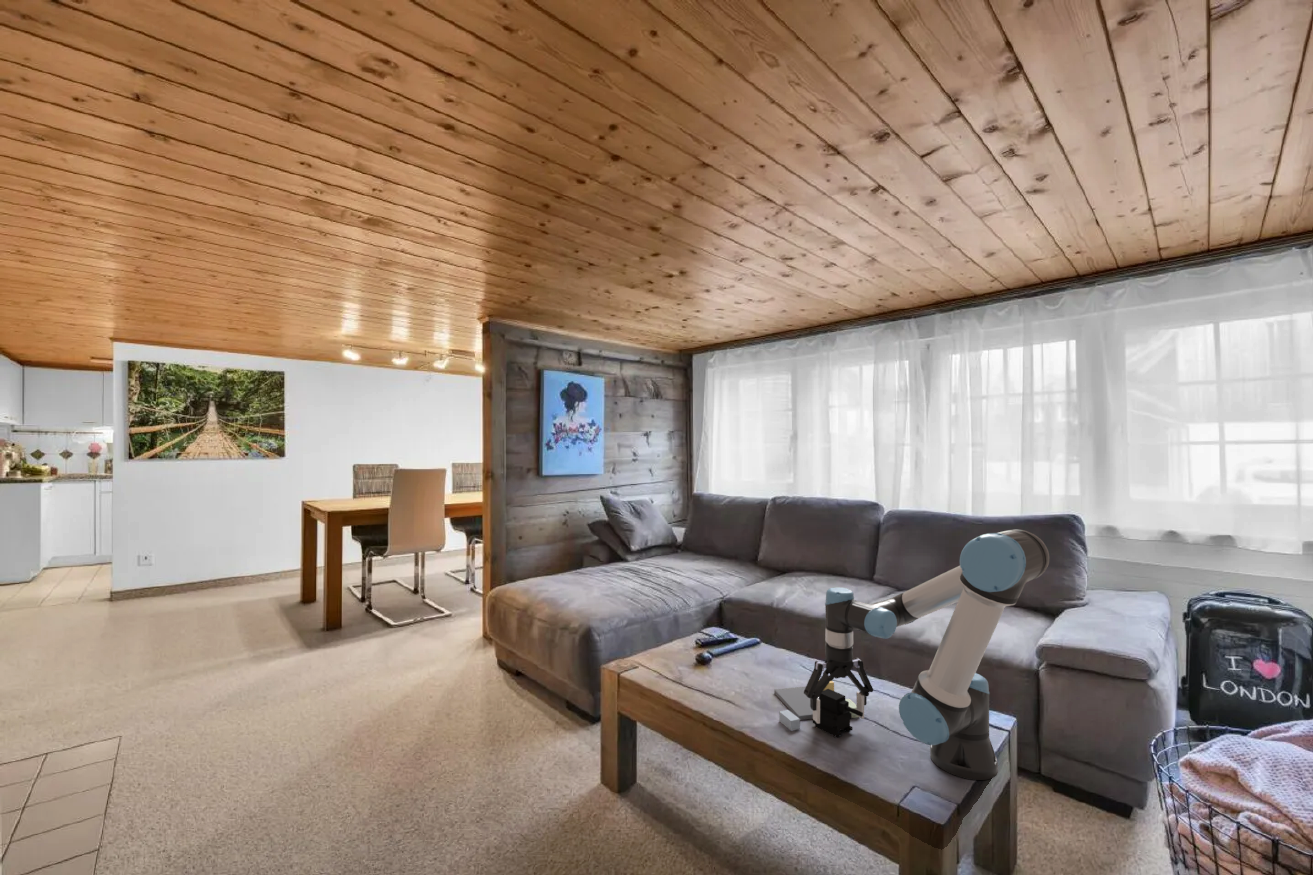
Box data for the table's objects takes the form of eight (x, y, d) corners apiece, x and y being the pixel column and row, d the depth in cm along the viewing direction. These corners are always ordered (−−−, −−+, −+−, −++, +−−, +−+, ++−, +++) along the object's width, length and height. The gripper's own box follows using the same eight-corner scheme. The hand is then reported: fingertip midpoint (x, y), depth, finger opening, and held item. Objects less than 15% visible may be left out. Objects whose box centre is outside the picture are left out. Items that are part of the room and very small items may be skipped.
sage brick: (859, 717, 165) (859, 707, 165) (849, 718, 165) (849, 708, 165) (849, 708, 171) (849, 698, 171) (840, 709, 170) (840, 699, 171)
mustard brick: (829, 687, 185) (829, 678, 185) (834, 691, 182) (834, 682, 183) (813, 689, 184) (812, 680, 184) (817, 693, 181) (817, 684, 181)
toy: (853, 748, 148) (853, 710, 148) (810, 726, 160) (810, 691, 160) (870, 739, 153) (869, 703, 153) (827, 718, 164) (826, 685, 164)
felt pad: (836, 715, 166) (836, 711, 166) (799, 719, 163) (799, 715, 163) (808, 689, 183) (808, 686, 183) (774, 693, 181) (774, 689, 181)
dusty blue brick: (800, 729, 158) (799, 718, 158) (791, 731, 157) (791, 720, 157) (788, 719, 164) (787, 709, 164) (779, 721, 163) (779, 711, 163)
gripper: (871, 636, 163) (870, 708, 163) (792, 641, 158) (791, 716, 158) (886, 645, 155) (885, 721, 155) (804, 652, 150) (803, 729, 150)
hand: (838, 718), depth 157 cm, fingers open, 13 cm apart
